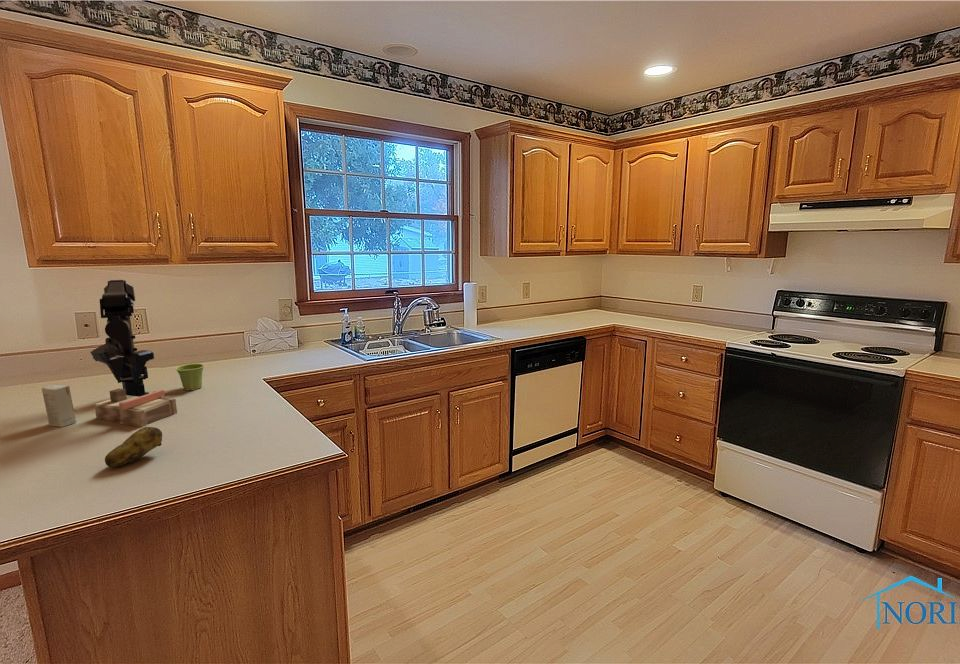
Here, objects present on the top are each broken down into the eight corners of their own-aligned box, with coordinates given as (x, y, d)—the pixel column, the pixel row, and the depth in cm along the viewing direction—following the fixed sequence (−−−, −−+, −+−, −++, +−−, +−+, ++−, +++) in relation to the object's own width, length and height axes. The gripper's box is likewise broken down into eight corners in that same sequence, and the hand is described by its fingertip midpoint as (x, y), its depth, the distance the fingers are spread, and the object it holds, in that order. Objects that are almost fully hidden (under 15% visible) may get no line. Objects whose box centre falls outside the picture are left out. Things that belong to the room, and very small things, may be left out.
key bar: (120, 409, 147) (119, 403, 146) (161, 395, 160) (160, 389, 160) (124, 409, 146) (123, 403, 146) (164, 395, 160) (164, 390, 159)
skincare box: (77, 422, 150) (70, 385, 148) (61, 427, 146) (54, 389, 144) (63, 420, 152) (57, 383, 150) (47, 425, 148) (40, 387, 146)
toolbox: (92, 420, 152) (89, 399, 151) (129, 407, 164) (127, 387, 162) (142, 426, 147) (139, 405, 145) (177, 413, 158) (174, 393, 157)
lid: (96, 406, 153) (94, 393, 152) (124, 397, 161) (122, 385, 161) (143, 412, 148) (141, 398, 147) (169, 403, 156) (168, 389, 155)
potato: (104, 462, 124) (99, 433, 122) (162, 448, 132) (158, 420, 130) (107, 473, 117) (102, 443, 116) (168, 458, 126) (164, 429, 124)
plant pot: (181, 393, 178) (178, 371, 177) (176, 387, 185) (173, 366, 184) (209, 388, 184) (206, 367, 183) (203, 383, 191) (201, 362, 190)
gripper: (70, 336, 145) (79, 385, 148) (118, 340, 140) (125, 390, 143) (107, 330, 156) (114, 376, 159) (152, 333, 151) (158, 380, 154)
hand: (127, 380), depth 153 cm, fingers open, 7 cm apart
